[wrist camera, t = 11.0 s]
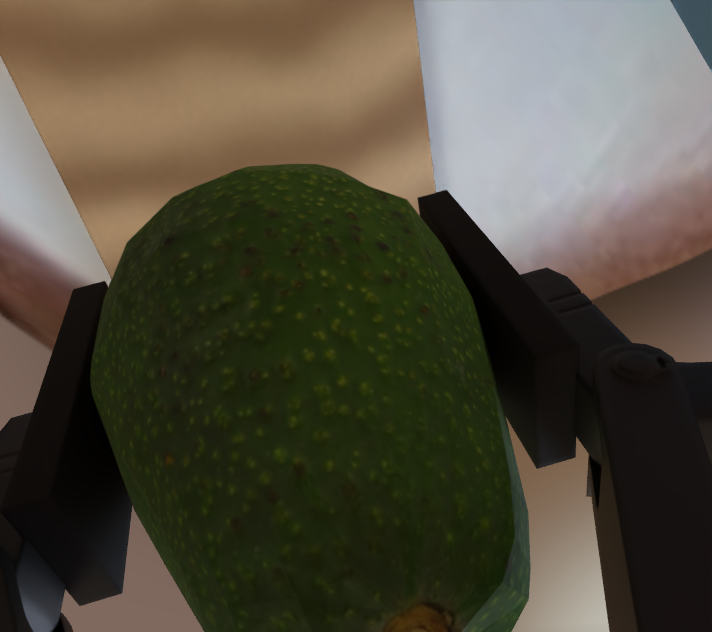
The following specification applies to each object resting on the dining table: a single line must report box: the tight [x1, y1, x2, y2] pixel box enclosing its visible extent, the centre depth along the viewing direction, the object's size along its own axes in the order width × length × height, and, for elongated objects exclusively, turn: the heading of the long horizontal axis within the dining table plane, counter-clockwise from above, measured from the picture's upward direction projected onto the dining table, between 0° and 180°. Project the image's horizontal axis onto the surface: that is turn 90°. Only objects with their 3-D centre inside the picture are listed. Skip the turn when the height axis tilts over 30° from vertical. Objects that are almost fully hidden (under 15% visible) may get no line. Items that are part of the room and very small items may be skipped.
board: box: [0, 0, 436, 279], centre depth 24 cm, size 18×14×2 cm
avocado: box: [90, 164, 530, 632], centre depth 12 cm, size 8×8×12 cm
